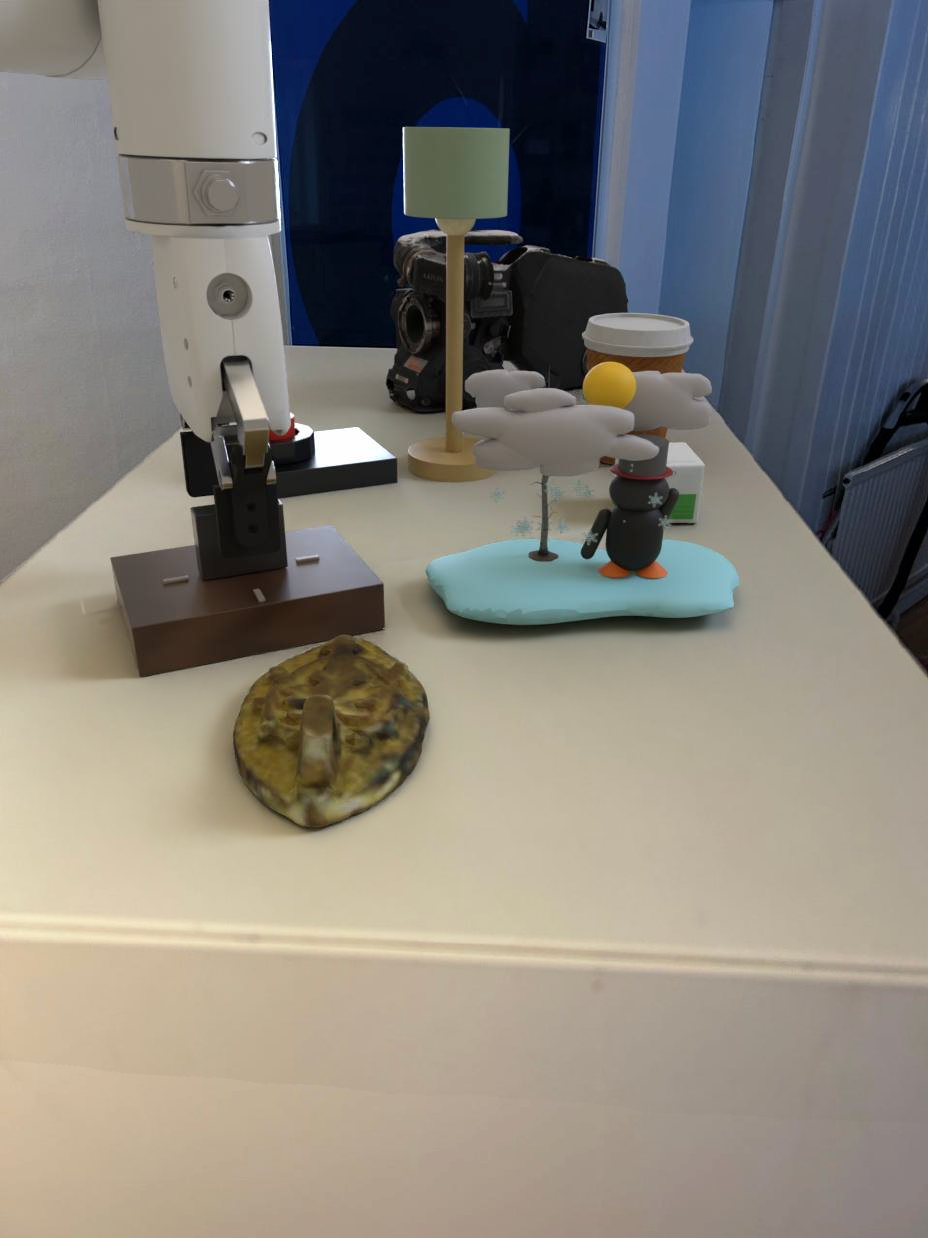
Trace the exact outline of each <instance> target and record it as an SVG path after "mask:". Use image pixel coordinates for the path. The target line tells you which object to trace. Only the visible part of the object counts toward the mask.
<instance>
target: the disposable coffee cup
mask: <svg viewBox="0 0 928 1238" xmlns="http://www.w3.org/2000/svg"><path fill="white" fill-rule="evenodd" d="M582 337H583V339H584V344H585V346H586V347H587V366H588V372H589V371H590V370H591V369H592V368H593V367H595V366H596V365H598V364H601V363H604V362H617V363H620V364H623V365H624V366H626V367H627V368H629V369H630V371H631V372H643V371H659V372H660V373H661V374H664V373H683V372H682V371H683V367H684V363H685V359H686V356H687V352H689V350H690V346H691V345H692V344H693V342H694V337H693V336H692V335H691V327H690V323H689V321H687V320H685V319H683V318H679V317H677V316H670V315H665V314H655V313H646V312H645V313H643V312H641V313H640V312H628V313H611V314H602V315H596V316H593V317H591V318H589V321H588V324H587V327H586V331H585V332H583V333H582ZM661 374H660V375H661ZM588 405H590V404H589V403H588ZM668 429H669V428H666V427H662V426H660V427H658V428H655V429H651V430H642V431H631V432H628V433H626V435H632V434H648V435H655V436H659V437H663V438H665V439H666V437H667V433H668ZM615 460H616V458H611V457H607V456H603V457H601V458H600V462H601V463H604V464H608V465H611V466H613V465H615Z"/></svg>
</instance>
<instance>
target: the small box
mask: <svg viewBox="0 0 928 1238" xmlns="http://www.w3.org/2000/svg"><path fill="white" fill-rule="evenodd" d="M618 462H619V459H617V458H616V460H615V464H618ZM666 466H667V467H669V468H670V469H672V470H673V474H672V475H671V476H669V477H667V478H665V479H666V481H667V483H668V485H669V489H670V488H675V489H677V490H678V492H679V499H678V501H677V503H676V505H675V507H674V508H673V510H672V512H671V514H670V516H669V518H668V519H669V520H670V522H669V520H667V521H668V522H669V523H668V522H667V523H668V524H691V523H695V524H697V523H698V520H699V512H700V506H701V505H700V503H701V497H702V491H703V483H704V475H705V468H706V464H705V463H704V462H703V461H702V459H701V458H700V457H699V456H698V455H697V454H696V453H695V452H694V451H693V450H692V448H691V447H690V446H689V445H688V443H687V442H684V441H683V442H682V441H681V442H680V441H679V442H677V441H676V442H674V441H673V442H672V441H671V442H669V447H668V456H667V464H666ZM615 476H616V475H615V474H613V478H614V477H615ZM671 520H672V521H671Z"/></svg>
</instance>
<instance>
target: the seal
mask: <svg viewBox="0 0 928 1238" xmlns="http://www.w3.org/2000/svg"><path fill="white" fill-rule="evenodd" d="M430 718H431V717H430V711H429V701H428V695H427V692H426V689H425V688H424V686H423V684H422V683H421V681H420V680H419V679H418V678H417V677H416V675H415V674H414V673H413V672H411V671H410V670H409V666H408V665H407V664H406V663H405V662H403V661H400V660H399V659H397V658H396V657H394V656H392V655H391V654H389V653H388V652H386V651H385V650H384V649H382V648H381V647H379V646H378V645H377V644H376V643H374V642H370V641H368V640H366V639H363V638H360V637H356V636H354V635H351V636H350V635H339V636H337V637H335V638H334V639H331V640H327V641H325V643H322V644H321V645H318V646H316V647H313V648H311V649H309V650H306V651H304V652H302V653H299V654H295V655H294V656H293V657H290V658H287V659H285V660H283V661H281V662H280V663H278V664H276V666H272V667H270V668H269V669H268V671H267V672H265V673H264V674H262V675H261V676H260V677H259V678H258V679H257V680H255V681H254V682H253V684H252V685H251V686H250V688H249V690H248V693H247V694H246V695H245V697H244V698H243V701H242V703H241V704H240V709H239V712H238V715H237V716H236V719H235V721H234V727H233V731H232V745H233V747H232V748H233V753H234V757H235V761H236V765H237V767H238V771H239V775H240V777H241V779H242V781H243V783H244V784H245V785H246V786H247V788H248V789H249V790H250V791H251V792H252V793H254V794H255V796H256V798H257V799H258V800H260V801H261V802H262V803H263V804H264V805H265V806H266V807H267V808H269V809H271V810H273V811H274V812H276V813H277V814H280V815H282V816H283V817H286V818H287V819H289V820H291V821H292V822H294V823H295V824H297V825H299V826H301V827H308V828H322V827H326V826H329V825H332V824H337V823H340V822H341V821H344V820H346V819H348V818H350V817H351V816H353V815H356V814H359V813H363V812H365V811H366V810H368V809H370V808H372V807H374V806H376V805H377V804H378V803H380V802H381V801H384V800H385V799H386V798H387V797H389V796H390V795H391V794H392V793H393V792H394V791H396V789H398V788H399V787H401V786H402V784H403V783H404V782H405V781H407V778H408V777H409V776H410V775H411V774H412V772H413V771H414V770H415V768H416V766H417V765H418V762H419V760H420V757H421V755H422V751H423V742H424V739H425V735H426V730H427V726H428V724H429V722H430ZM409 774H410V775H409ZM408 775H409V776H408ZM407 776H408V777H407Z"/></svg>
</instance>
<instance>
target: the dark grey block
mask: <svg viewBox="0 0 928 1238" xmlns="http://www.w3.org/2000/svg"><path fill="white" fill-rule="evenodd" d="M189 509H190V519H191V525H192V533H193V534H192V535H193V540H194V545H195V549H196V557H197V565H198V571H199V573H200V575H201V577H202V579H203V580H204V581H205V580H211V579H217V578H224V577H230V576H236V575H242V574H248V573H254V572H260V571H267V570H273V569H279V568H285V567H288V561H287V549H286V537H285V531H286V525H285V524H286V523H285V513H284V504H283V503H282V502H281V500H280V499H278V509H279V525H280V541H281V547H280V549H279V550H278V551H277V552H274V553H267V554H260V555H253V556H246V557H239V558H232V559H226V558H224V557H223V556H222V555H221V553H220V551H219V543H218V533H217V523H216V513H215V503H213V504H212V503H211V504H206V505H198V506H191V507H190V508H189Z"/></svg>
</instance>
